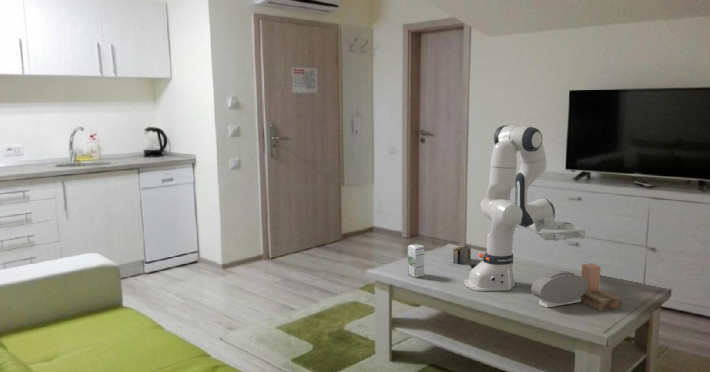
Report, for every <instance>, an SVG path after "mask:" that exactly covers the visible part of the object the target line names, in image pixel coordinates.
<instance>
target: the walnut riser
mask: <svg viewBox="0 0 710 372" xmlns="http://www.w3.org/2000/svg"><path fill="white" fill-rule="evenodd" d="M582 303H583V304H585V305H586V306H588V307H591V308H593V309H595V310H597V311H599V312H603V311H611V310H618V309H619V310H620V309H622V303H623V299H622V298H621V297H620V296H617V295H616V294H612V293H611V292H608V291H606V290H603V289H602V290H599V291H594V292H586V293H585V294H584V295H583V296H582Z"/></svg>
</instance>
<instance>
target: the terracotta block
mask: <svg viewBox="0 0 710 372" xmlns="http://www.w3.org/2000/svg"><path fill="white" fill-rule="evenodd" d="M581 277H583V278H585V279H586V280H587V281H588V284H589V287H588V290H587V291H586V292H594V291H600V283H601V266H600V265H598V264H595V263H593V262H592V263H582V264H581Z"/></svg>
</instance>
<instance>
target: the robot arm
mask: <svg viewBox="0 0 710 372" xmlns="http://www.w3.org/2000/svg"><path fill="white" fill-rule="evenodd" d="M493 142H494V146H493V149H492V153H491V158H490V166H489V167H490V169H489V180H488V186H487V191H486V193H485V196H484V198H483V199H482V200H481V202H480V209H479V210H480V211H481V213H482V214H483V215H484V217H486V218H487V219H488V220H490V221H492V225H491V229H490V232H488V234H487V235H486V252H485V254H484V253H482V252H479V253H478V257H479V258H481V259H482V261H481V262H479V263H478V264H476V265H475V266H474V267H473V268H471V270H470V272H469V275H468V278H467V279H464V280H463V284H464V286H466V287H467V288H468V287H469V288H468V289H470V290H473V291H475V292H492V291H494V292H498V291H500V292H501V291H511V290H512V289H513V287H515V286H516V282H515V279H514V272H513V264H514V253H513V248H514V247H513V243H514V235H515V232H516V231H515V230H516V228H517V226H518V225H519V226H521V227H522V228H528V227H529V228H530V230H531V231H532V232H533V233H535V234H536V235H538V236H539V237H540V238H541V239H542V240H545V241H553V242H554V241H555V242H556V241H566V240H567V239H568V240H569V239H570V240H571V239H581V240H583V239H585V237H586V229H585V228H583V227H581V226H578V225H574V223H572V222H562V221H559V220H555V217H556V209H555V207H554V204H553V203H552V202H551V201H550V200H549V199H547V198H544V197H542V198H539V199H536V200H534V201H532V202H528V191H529V187H530V186H531V185H532V184H533V183H534V182H535V181H536V180H537V179H539V178H540V177H542V175H543V174H544V173H545V171H546V169H547V157H546V151H545V147H544V144H543V135H542V132H541V131H540V130H539V128H536V127H533V126H524V125H523V126H522V125H516V124H515V125H513V124H512V125H506V124H505V125H502V126H498V127H497V128H496V130H495V132H494V134H493ZM518 152H519V158H520V168H519V171H518V173H517V166H518V164H517V161H518V157H517V154H518ZM513 188H515V190H514V191H515V192H514V194H515V197H514V199H515V200H514V201H512V200H510V199H509V198H510V195H511V192H512V190H513Z"/></svg>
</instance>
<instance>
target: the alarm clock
mask: <svg viewBox="0 0 710 372" xmlns="http://www.w3.org/2000/svg"><path fill="white" fill-rule="evenodd" d="M588 287H589V284H588V281H587V280H586V279H585V278H583V277H582V275H581V276H580V275H576V273H574V272H571V271H567V270H566V271H565V270H556V271H555V270H554V271H552V272H549V273H547V274H545V275H543V276H540V277H538V278H537V279H536V280H535V281H533V283H532V285H531V288H530V290H531V293H532V294H533V295H534V296H535V297H537V298H538V299H539V305H540V306H543V307H545V308H551V307H557V306H563V305H570V304H575V303H582V298H581V297H583V295H584V294H585V293H586V291H587V290H588Z"/></svg>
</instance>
